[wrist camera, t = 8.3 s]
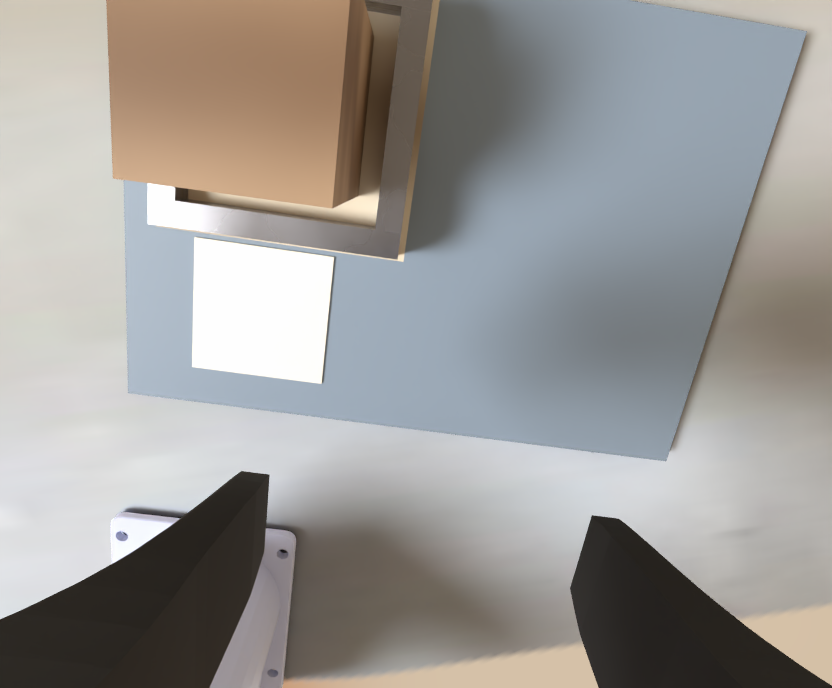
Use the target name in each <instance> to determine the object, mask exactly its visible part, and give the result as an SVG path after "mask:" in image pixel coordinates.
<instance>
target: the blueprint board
mask: <svg viewBox="0 0 832 688" xmlns="http://www.w3.org/2000/svg"><path fill="white" fill-rule="evenodd" d="M365 4H366V8H367V12H368V16H369V19H370V23H371V27H372V31H373V34H374V44H373V54H372V65H371V75H370V85H369V95H368V105H367V115H366V125H365V135H364V146H363V156H362V166H361V176H360V186H359V196H358V197H356V198H353V199H351V200H349V201H347V202H345V203H343V204H341V205H339V206H337V207H335V208H324V207H317V206H310V205H303V204H295V203H288V202H281V201H274V200H266V199H259V198H252V197H244V196H237V195H230V194H223V193H215V192H208V191H201V190H194V189H186V188H179V187H172V186H165V185H157V184H150V183H143V182H135V181H128V180H124V219H125V267H126V314H127V362H128V393H131V394H139V395H147V396H155V397H163V398H170V399H178V400H186V401H194V402H202V403H210V404H218V405H226V406H234V407H242V408H249V409H257V410H265V411H273V412H281V413H289V414H297V415H305V416H313V417H321V418H328V419H336V420H344V421H352V422H360V423H368V424H376V425H384V426H392V427H400V428H407V429H415V430H423V431H431V432H439V433H447V434H455V435H463V436H471V437H479V438H486V439H494V440H502V441H510V442H518V443H526V444H534V445H542V446H550V447H558V448H565V449H573V450H581V451H589V452H597V453H605V454H613V455H621V456H629V457H637V458H644V459H652V460H660V461H666V460H667V457H668V454H669V451H670V448H671V445H672V442H673V439H674V436H675V433H676V430H677V427H678V424H679V421H680V417H681V414H682V411H683V408H684V405H685V402H686V399H687V396H688V393H689V390H690V387H691V384H692V381H693V378H694V375H695V372H696V369H697V366H698V362H699V359H700V356H701V353H702V350H703V347H704V344H705V341H706V338H707V335H708V332H709V329H710V326H711V323H712V320H713V317H714V314H715V311H716V308H717V304H718V301H719V298H720V295H721V292H722V289H723V286H724V283H725V280H726V277H727V274H728V271H729V268H730V265H731V262H732V259H733V256H734V253H735V250H736V246H737V243H738V240H739V237H740V234H741V231H742V228H743V225H744V222H745V219H746V216H747V213H748V210H749V207H750V204H751V201H752V198H753V195H754V192H755V188H756V185H757V182H758V179H759V176H760V173H761V170H762V167H763V164H764V161H765V158H766V155H767V152H768V149H769V146H770V143H771V140H772V137H773V134H774V130H775V127H776V124H777V121H778V118H779V115H780V112H781V109H782V106H783V103H784V100H785V97H786V94H787V91H788V88H789V85H790V82H791V79H792V76H793V72H794V69H795V66H796V63H797V60H798V57H799V54H800V51H801V48H802V45H803V42H804V39H805V36H806V33H807V31H802V30H796V29H791V28H785V27H779V26H774V25H768V24H762V23H757V22H751V21H745V20H739V19H734V18H728V17H722V16H717V15H711V14H705V13H699V12H694V11H688V10H682V9H677V8H671V7H665V6H660V5H654V4H648V3H642V2H637V1H631V0H365Z"/></svg>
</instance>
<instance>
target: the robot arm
mask: <svg viewBox="0 0 832 688" xmlns="http://www.w3.org/2000/svg"><path fill="white" fill-rule="evenodd" d="M268 488H269V475H267V474H259V473H252V472H244V471H241V472H240V473H238V474H237V475H236V476H234V477H233V478H232V479H230V480H229V481H228V482H227V483H225V484H224V485H223V486H222V487H220V488H219V489H218V490H217V491H215V492H214V493H213V494H212V495H210V496H209V497H208V498H207V499H205V500H204V501H203V502H201V503H200V504H199V505H198V506H196V507H195V508H194V509H192V510H191V511H190V512H188V513H187V514H186V515H184V516H183V517H182V518H173V517H164V516H156V515H147V514H138V513H129V512H121V513H118V514H117V515H116V516H115V517H114V518H113V520H112V521H111V524H110V526H111V555H112V564H111V565H109V566H108V567H106V568H104V569H102V570H100V571H99V572H97V573H95V574H93V575H92V576H90V577H88V578H86V579H84V580H82V581H81V582H79V583H77V584H75V585H73V586H71V587H69V588H66V589H64V590H62V591H60V592H58V593H56V594H54V595H52V596H50V597H48V598H46V599H44V600H42V601H40V602H38V603H36V604H34V605H31V606H29V607H27V608H25V609H23V610H21V611H19V612H16V613H14V614H12V615H9V616H7V617H5V618H2V619H0V688H282V686H283V680H284V669H285V659H286V648H287V637H288V626H289V615H290V604H291V593H292V583H293V572H294V561H295V550H296V537H295V535H294V534H293V533H291V532H290V531H286V530H278V529H269V528H266V519H267V503H268ZM121 531H123V532H125V533H126V534H127V535H124V534H122V533H121ZM281 549H284V550H286V551H287V552H288V553H282V552H281V551H280V550H281ZM570 589H571V594H572V599H573V604H574V609H575V614H576V618H577V623H578V627H579V631H580V635H581V638H582V641H583V644H584V647H585V649H586V652H587V655H588V658H589V661H590V664H591V667H592V670H593V673H594V676H595V678H596V681H597V684H598V687H599V688H832V686H831V685H830V684H828V683H826V682H825V681H823V680H822V679H820V678H819V677H817V676H816V675H814V674H813V673H811V672H810V671H808V670H807V669H805V668H804V667H802V666H801V665H799V664H798V663H796V662H795V661H793V660H792V659H791V658H789V657H788V656H786V655H785V654H784V653H782V652H781V651H779V650H778V649H777V648H775V647H774V646H772V645H771V644H769V643H768V642H766V641H765V640H764V639H762V638H761V637H760V636H758V635H757V634H756V633H754V632H753V631H752V630H750V629H749V628H748V627H746V626H745V625H744V624H743V623H741V622H740V621H739V620H738V619H736V618H735V617H734V616H733V615H731V614H730V613H729V612H728V611H726V610H725V609H724V608H723V607H721V606H720V605H719V604H718V603H716V602H715V601H714V600H713V599H711V598H710V597H709V596H708V595H707V594H706V593H704V592H703V591H702V590H701V589H700V588H698V587H697V586H696V585H695V584H694V583H693V582H691V581H690V580H689V579H688V578H687V577H686V576H684V575H683V574H682V573H681V572H680V571H679V570H678V569H676V568H675V567H674V566H673V565H672V564H671V563H670V562H669V561H667V560H666V559H665V558H664V557H663V556H662V555H661V554H660V553H658V552H657V551H656V550H655V549H654V548H653V547H652V546H651V545H649V544H648V543H647V542H646V541H645V540H644V539H643V538H641V537H640V536H639V535H638V534H637V533H636V532H635V531H633V530H632V529H631V528H630V527H629V526H627V525H626V524H625V523H624V522H622V521H621V520H620V519H616V518H608V517H601V516H593V515H592V517H591V521H590V524H589V527H588V531H587V534H586V537H585V541H584V544H583V547H582V551H581V554H580V557H579V561H578V564H577V567H576V571H575V574H574V577H573V581H572V584H571V587H570ZM272 669H275V670H272Z"/></svg>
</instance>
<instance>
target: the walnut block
mask: <svg viewBox="0 0 832 688" xmlns="http://www.w3.org/2000/svg"><path fill="white" fill-rule="evenodd" d="M106 2H107V29H108V56H109V83H110V110H111V137H112V164H113V178H114V179H121V180H128V181H135V182H143V183H150V184H157V185H165V186H172V187H179V188H186V189H194V190H201V191H208V192H215V193H223V194H230V195H237V196H244V197H252V198H259V199H266V200H274V201H281V202H288V203H295V204H303V205H310V206H317V207H324V208H335V207H337V206H339V205H341V204H343V203H345V202H347V201H349V200H351V199H353V198H356V197H358V196H359V186H360V176H361V166H362V156H363V146H364V135H365V125H366V115H367V105H368V95H369V85H370V75H371V65H372V54H373V44H374V34H373V31H372V27H371V23H370V19H369V16H368V12H367V8H366V4H365V0H106Z"/></svg>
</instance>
